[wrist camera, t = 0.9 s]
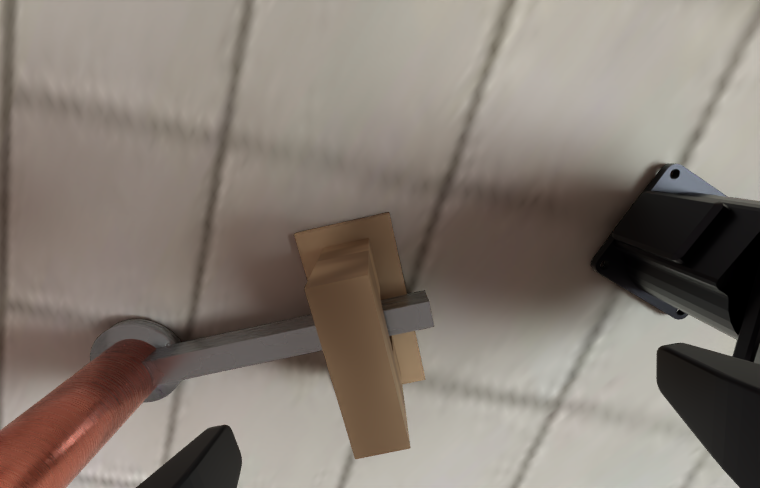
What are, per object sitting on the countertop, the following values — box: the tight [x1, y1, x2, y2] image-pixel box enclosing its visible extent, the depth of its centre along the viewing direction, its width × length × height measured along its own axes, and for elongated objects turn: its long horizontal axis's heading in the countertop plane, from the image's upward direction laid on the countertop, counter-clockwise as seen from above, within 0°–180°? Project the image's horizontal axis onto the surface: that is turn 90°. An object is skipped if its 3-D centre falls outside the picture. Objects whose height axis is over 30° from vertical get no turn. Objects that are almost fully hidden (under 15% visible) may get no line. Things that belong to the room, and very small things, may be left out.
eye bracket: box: [294, 212, 425, 459], centre depth 17 cm, size 5×10×6 cm, turn 13°
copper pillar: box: [0, 290, 434, 488], centre depth 12 cm, size 19×5×15 cm, turn 102°
